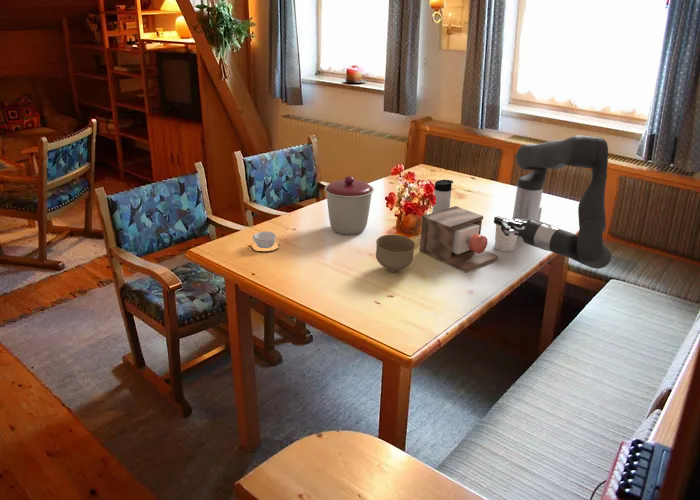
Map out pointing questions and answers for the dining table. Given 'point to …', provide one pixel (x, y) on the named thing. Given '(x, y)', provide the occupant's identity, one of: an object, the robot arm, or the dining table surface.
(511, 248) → the white cup
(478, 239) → the drawer with red knob
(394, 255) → the bowl
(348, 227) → the canister
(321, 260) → the dining table surface
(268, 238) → the teacup
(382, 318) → the dining table surface
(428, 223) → the cabinet
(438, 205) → the travel mug
